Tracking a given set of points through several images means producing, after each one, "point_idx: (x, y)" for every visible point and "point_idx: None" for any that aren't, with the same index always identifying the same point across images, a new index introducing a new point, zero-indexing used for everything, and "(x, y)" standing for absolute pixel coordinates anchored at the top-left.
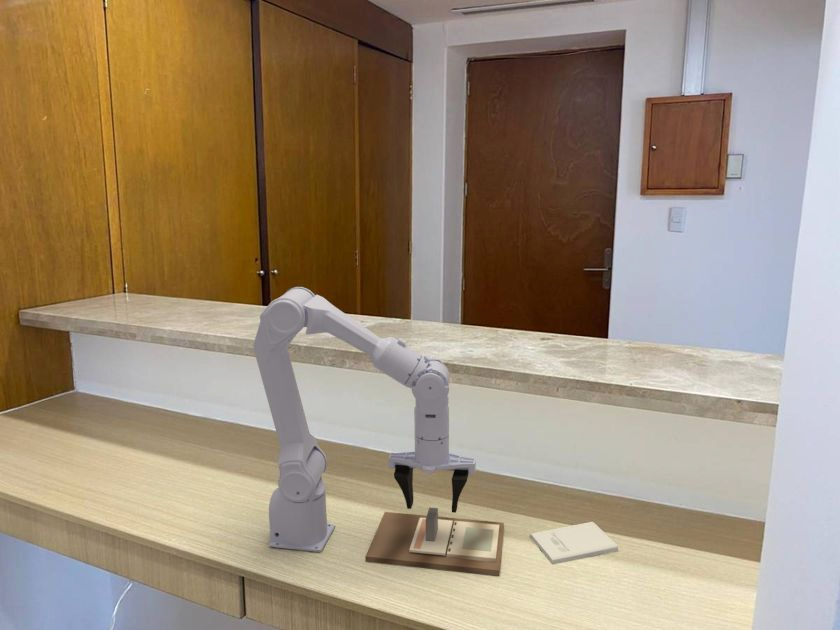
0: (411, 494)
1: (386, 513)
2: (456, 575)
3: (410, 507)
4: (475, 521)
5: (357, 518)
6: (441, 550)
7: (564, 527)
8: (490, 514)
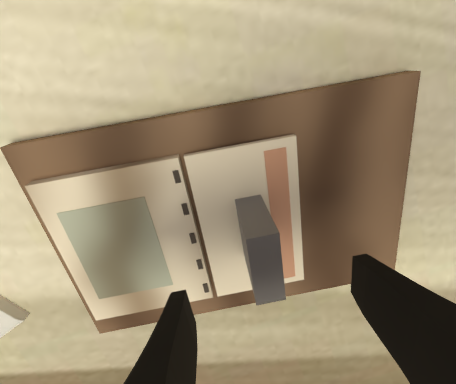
0: (384, 315)
1: None
2: (130, 101)
3: (358, 258)
4: None
5: (449, 238)
6: (199, 166)
7: None
8: None
